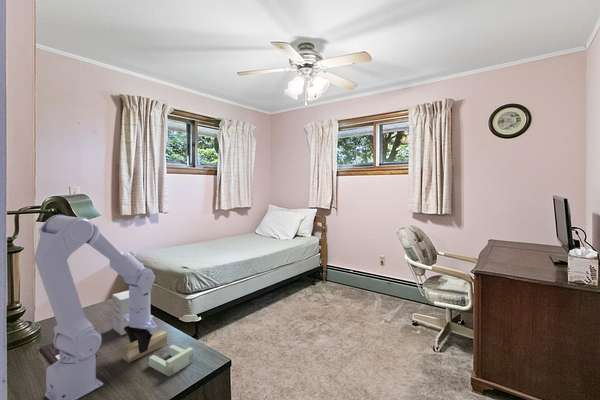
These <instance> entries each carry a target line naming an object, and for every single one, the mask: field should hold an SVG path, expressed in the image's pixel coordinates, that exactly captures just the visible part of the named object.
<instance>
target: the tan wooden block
mask: <svg viewBox="0 0 600 400" xmlns="http://www.w3.org/2000/svg"><path fill="white" fill-rule="evenodd" d="M167 345H168V332H167V331H165V330H163V329H160V330H158V332H156V333H154V334H153V335H152V337H151V339H150V342H149V346H148V349H147V351H145V352H143V353H140V352H139V347H138V341H137V340H136V341H134V342H132V343H127V344H124V345H123V360H124V361H126V362H127V363H131V362H133V361H135V360H137V359H139V358H141V357H143V356H146V355H148V354H150V353H152V352H153V351H156V350H158V349H160V348H162V347H165V346H167Z"/></svg>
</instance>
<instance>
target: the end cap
mask: <svg viewBox="0 0 600 400" xmlns="http://www.w3.org/2000/svg"><path fill="white" fill-rule="evenodd" d="M168 356H171V357H170V358H168V359H166V360H164V358H160V356H157V355H155V354H152V355H151V356H149V357H148V367H150V368H153V369H154V370H156V371H158V372H159V373H161V374H164V375H165V376H166V377H171V376H173V375H174V374H176V373H177V372H179V371H181V370H182V369H185V367H187V366H189V365H190V364H192V363H193V362H194V348H193V347H187V348H186V349H184V348H182V347H179V346H177V345H175V344H172V345H170V346H168Z"/></svg>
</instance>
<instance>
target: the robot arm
mask: <svg viewBox="0 0 600 400" xmlns="http://www.w3.org/2000/svg"><path fill="white" fill-rule="evenodd" d="M38 231H39V232H38V233H39V240H38V242H37V246H36V251H35V254H34V261H35V265H36V268H37V270H38V274H39V276H40V279H41V281H42V285H43V287H44V290H45V293H46V296H47V299H48V301H49V304H50V307H51V310H52V312H53V316H54V318H55V320H56V323H57V324H56V325H55V326H54V327H53V332H54V338H53V343H54V346H55V348H56V349H58V350H60V359H59V360H58V361H57V362H55V363H54V364H52V363H51V365H49V366H47V368H46V370H45V386H46V387H45V389H46V390H45V391H46V392H45V394H44V395H45V397H46V398H47V399H48V400H79V399H80V398H82V397H84V396H85V395H88V394H90V393H91V392H93V391H95V390H96V389H99V388H100V387H102V386H104V382H102V381H101V380H100V379H98V378H97V377H96V374H97V371H96V368H97V367H96V366H97V365H96V361H97V360H96V358H97V357H96V355H97V352H98V351H99V349H100V347H101V345H102V340H103V339H102V335H101V334H100V333H99V332H98V331H96V329H95V327H94V325H93V324H92V322H91V321H90V320H89V319H88V318H87V317H86V316H85V312H84V309H83V307H82V304H81V300H80V297H79V294H78V290H77V288H76V284H75V281H74V279H73V275H72V272H71V269H70V266H69V262H68V259H69V258H70V256H71V255H72V254H74V252H76V251H78V249H79V248H81V247H82V246H83V245H84V244H85V245H86V244H88V245H89V246H90V247H92V248H93V249H94V250H96V251H97V252H98V253H100V254H101V255H103V256H104V257H105V258H106V259H108V260H109V267H110V269H112V270H113V271H114V272H116V273H117V274H118V275H120V276H121V277H122V278H123V282H124V283H125V284H127V285H128V290H129V314H126V315H123V322H127V324H128V326H126V327H125V328H124V330H125V332H126V335H127V337H128V339H129V342H130V343H132V342H134V341H136V340H137V341H138V347H139V352H140V353H143V352H145V351H147V349H148V346H149V342H150V339H151V337H152V335H153V334H154V333H156V332H158V331H159V328H158V327H159V325H157V324H156V322H155V321H154V315H152V314H151V290H153V289H152V288H153V284H154V282H155V279H156V275H155V274H154V271H153V270H152V269H151V268H149V267H146V266H144V262H143V261H140V260H138V259H137V258H136V257H135V256H134V255H135V253H134V252H133V251H130V250H129V251H128V250H121V249H119V248H118V247H117V246H116V244H114V242H112V240H110V238H108V237H107V236H106V235H105V234H104V233H103V232H102V230H101V229H100V227H99V226H98V225H96V224H95V223H93V222H91V220H90V219H89V218H87V217H84V216H83V217H81V216H78V217H77V216H71V215H70V216H67V215H65V214H56V215H52V216H50V217H48V219H46V220H45V222H44V223H43V224H42V225H41V226H40V227H39V229H38Z"/></svg>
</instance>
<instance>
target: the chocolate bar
mask: <svg viewBox="0 0 600 400" xmlns="http://www.w3.org/2000/svg"><path fill="white" fill-rule="evenodd" d="M39 349H40V351H41V352H42V353H43V354H44V356H46V358H47V359H48V360H49V361H50V362H51V365H52V364H54V363H55V362H57V361H58V360H59V359H60V350H58V349H56V348H55V346H54V342H51V343H49V344H46V345H43V346H40V347H39ZM96 358H98V355H97V354H96Z"/></svg>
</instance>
